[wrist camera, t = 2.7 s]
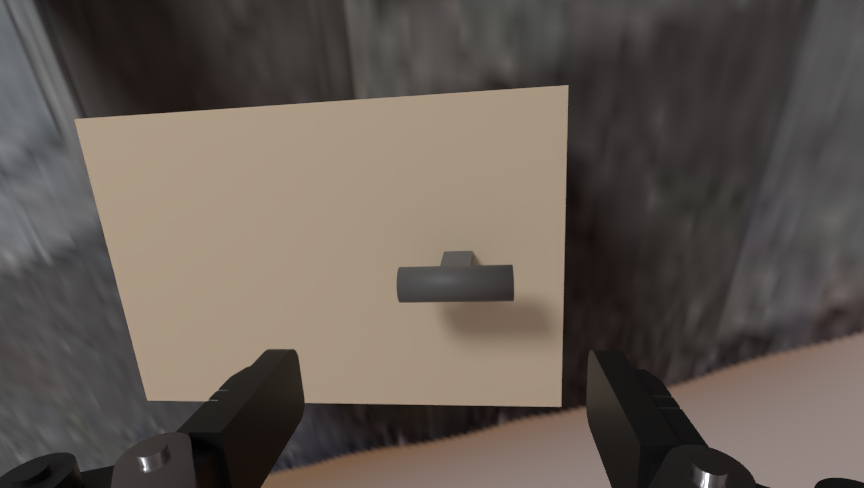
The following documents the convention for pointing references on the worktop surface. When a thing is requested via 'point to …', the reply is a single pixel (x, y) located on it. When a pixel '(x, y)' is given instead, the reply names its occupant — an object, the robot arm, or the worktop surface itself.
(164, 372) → the carton lid
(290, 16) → the worktop surface
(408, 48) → the worktop surface
